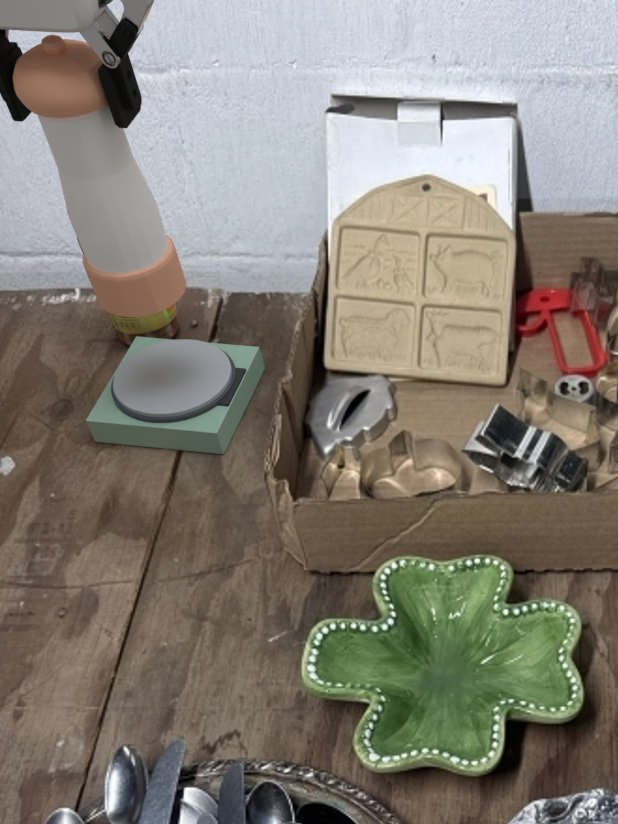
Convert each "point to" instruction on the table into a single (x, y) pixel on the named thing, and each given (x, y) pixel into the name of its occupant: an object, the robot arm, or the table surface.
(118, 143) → the pepper shaker
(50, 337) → the table surface
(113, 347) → the table surface
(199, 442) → the scale
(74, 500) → the table surface
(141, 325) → the sauce bottle
